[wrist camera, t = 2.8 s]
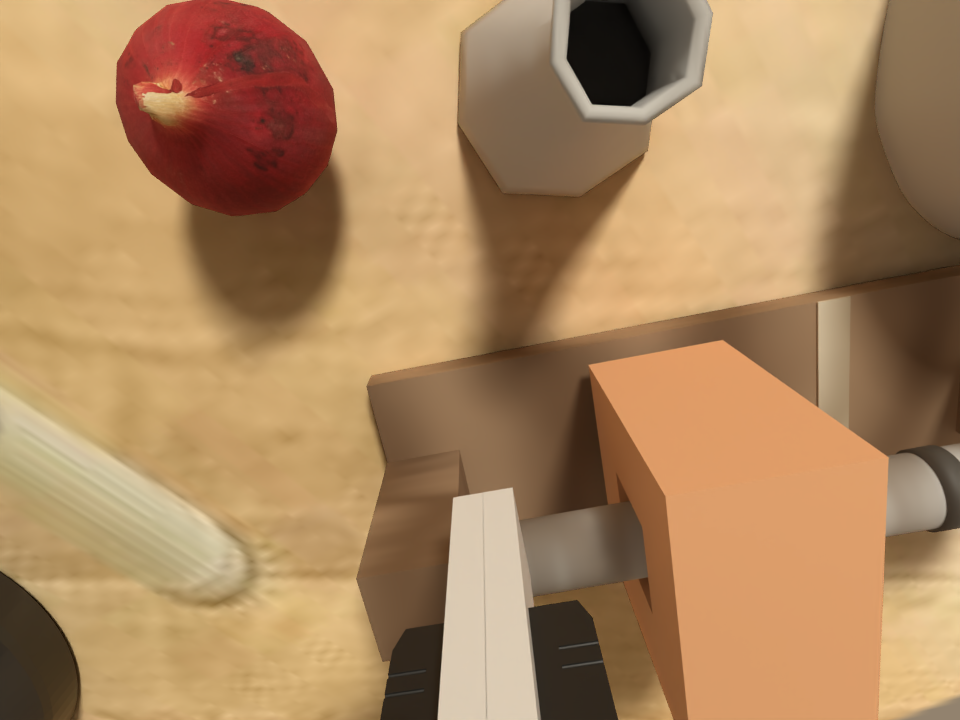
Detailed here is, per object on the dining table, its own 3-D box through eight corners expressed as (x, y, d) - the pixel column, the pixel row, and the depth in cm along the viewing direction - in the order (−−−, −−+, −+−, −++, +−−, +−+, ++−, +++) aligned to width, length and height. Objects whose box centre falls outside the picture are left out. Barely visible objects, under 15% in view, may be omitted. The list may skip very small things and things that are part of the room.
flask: (674, 168, 22) (836, 174, 12) (485, 223, 22) (498, 270, 13) (637, -54, 19) (802, -262, 10) (427, 12, 20) (390, -122, 10)
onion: (294, -6, 19) (184, -112, 12) (386, 154, 21) (341, 150, 14) (156, 87, 20) (-30, 43, 13) (255, 234, 22) (143, 273, 14)
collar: (616, 562, 25) (693, 773, 16) (588, 365, 22) (665, 496, 13) (734, 542, 24) (876, 746, 16) (722, 339, 22) (888, 457, 13)
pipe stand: (424, 574, 27) (407, 740, 19) (371, 375, 24) (324, 479, 16) (997, 475, 26) (1223, 609, 18) (1021, 253, 23) (1308, 301, 15)
